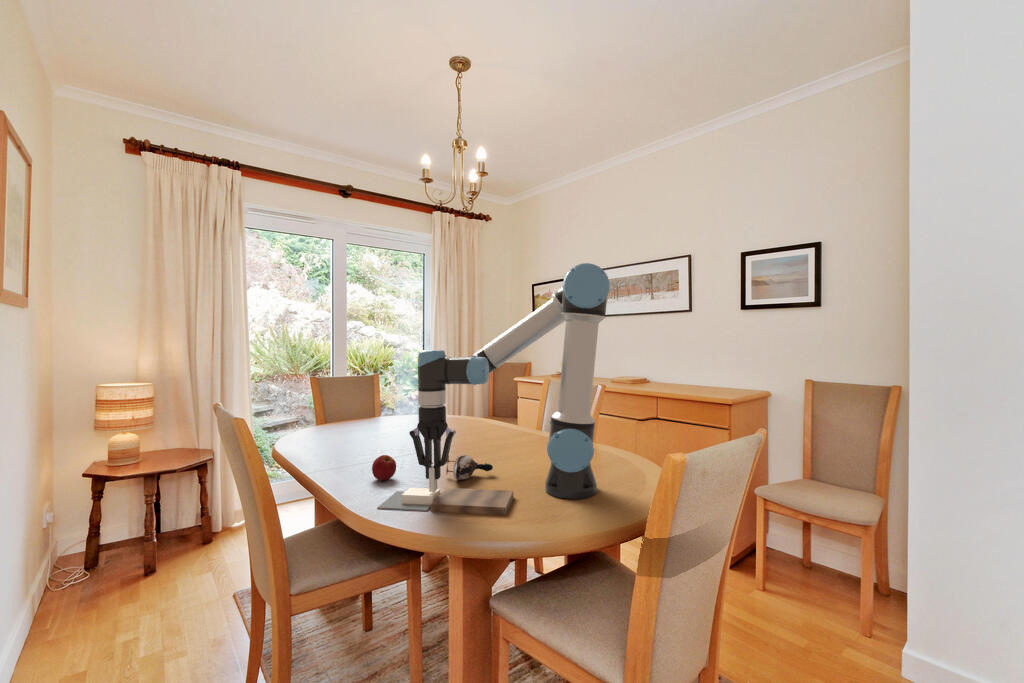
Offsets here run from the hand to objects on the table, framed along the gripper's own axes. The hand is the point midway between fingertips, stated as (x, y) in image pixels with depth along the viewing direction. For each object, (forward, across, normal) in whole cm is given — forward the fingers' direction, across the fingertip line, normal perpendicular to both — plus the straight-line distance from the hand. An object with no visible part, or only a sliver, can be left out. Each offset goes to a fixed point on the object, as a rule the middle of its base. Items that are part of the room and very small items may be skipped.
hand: (433, 490), depth 127 cm
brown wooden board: (+3, -12, 0) cm, 12 cm away
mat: (+3, +6, 0) cm, 7 cm away
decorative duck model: (+4, -5, -21) cm, 22 cm away
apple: (+4, +22, -18) cm, 29 cm away
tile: (+3, +4, 0) cm, 5 cm away
